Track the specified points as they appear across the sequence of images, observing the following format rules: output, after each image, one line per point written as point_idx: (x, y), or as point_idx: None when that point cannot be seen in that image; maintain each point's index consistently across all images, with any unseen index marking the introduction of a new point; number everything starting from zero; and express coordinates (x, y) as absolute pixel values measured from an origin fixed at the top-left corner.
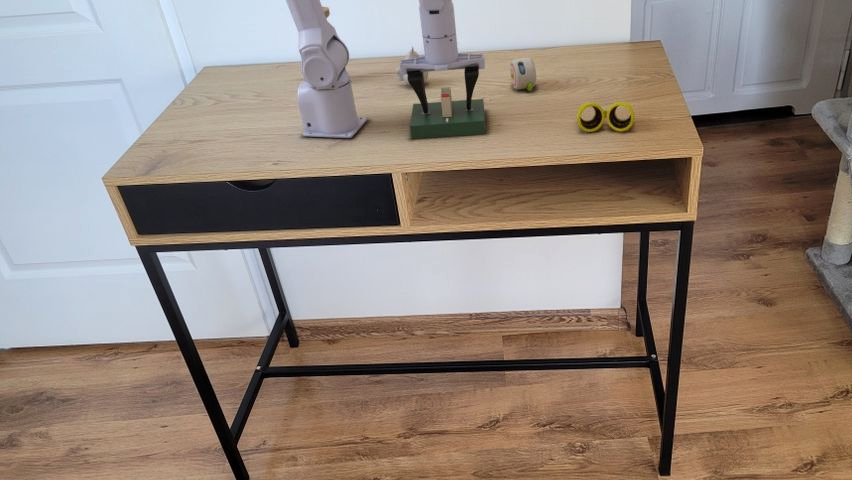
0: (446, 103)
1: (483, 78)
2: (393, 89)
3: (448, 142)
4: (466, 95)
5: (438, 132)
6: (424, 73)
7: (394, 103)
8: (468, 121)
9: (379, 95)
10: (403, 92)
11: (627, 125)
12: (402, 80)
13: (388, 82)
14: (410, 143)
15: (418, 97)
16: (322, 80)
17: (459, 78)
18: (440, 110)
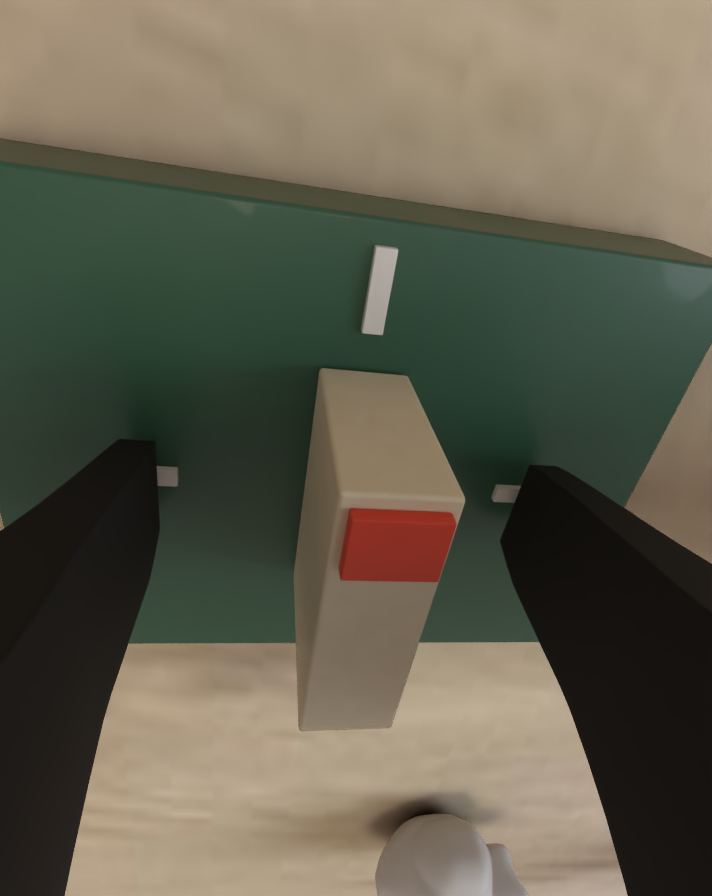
0: (381, 450)
1: (117, 851)
2: (523, 799)
3: (388, 45)
4: (89, 531)
5: (464, 217)
6: (398, 884)
7: (564, 707)
8: (132, 189)
9: None
10: (493, 779)
11: None
12: (490, 845)
13: (522, 837)
14: (705, 158)
15: (708, 564)
16: None
17: (232, 852)
18: None
